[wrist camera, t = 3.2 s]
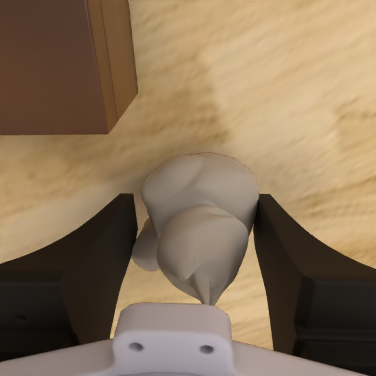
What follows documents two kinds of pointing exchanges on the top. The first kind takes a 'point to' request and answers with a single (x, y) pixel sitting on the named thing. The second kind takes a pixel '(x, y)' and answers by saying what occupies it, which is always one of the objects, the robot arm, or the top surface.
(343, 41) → the top surface
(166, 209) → the beige rounded piece
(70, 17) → the wooden box
